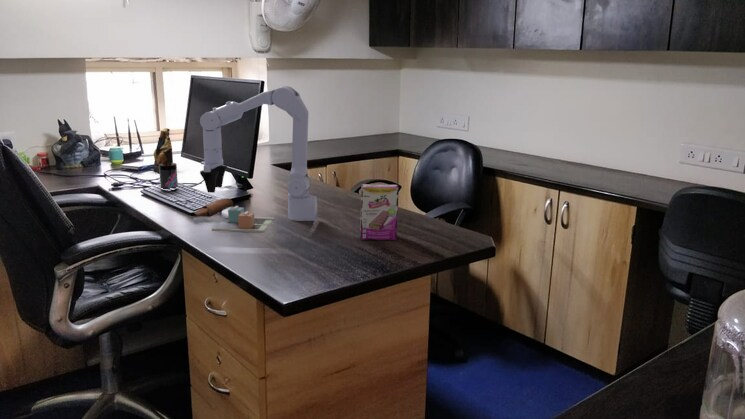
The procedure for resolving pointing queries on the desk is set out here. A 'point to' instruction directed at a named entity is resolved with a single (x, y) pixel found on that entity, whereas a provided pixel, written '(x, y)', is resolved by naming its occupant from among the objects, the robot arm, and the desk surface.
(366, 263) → the desk surface
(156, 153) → the statue
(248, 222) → the orange block with handle
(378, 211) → the candy bar box
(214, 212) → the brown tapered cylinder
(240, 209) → the teal handled block
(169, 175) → the supplement container
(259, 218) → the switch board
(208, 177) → the robot arm
